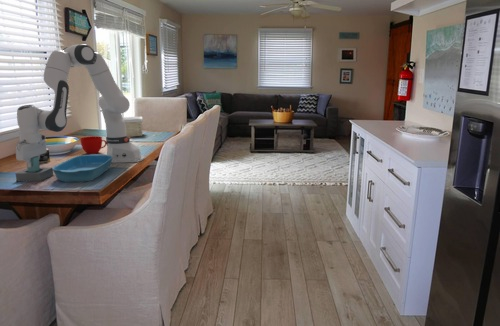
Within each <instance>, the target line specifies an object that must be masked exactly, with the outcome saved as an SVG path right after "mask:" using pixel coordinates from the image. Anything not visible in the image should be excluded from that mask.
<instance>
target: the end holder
mask: <svg viewBox="0 0 500 326" xmlns="http://www.w3.org/2000/svg"><path fill="white" fill-rule="evenodd" d="M52 168H53V167H41V166H40V170H39V171H36V172H28V169H27V168H25V169H23V170H20V171H18V172H16V173H15V178H16V182H42V181H45V180H47V179H48V178H50V177H53V176H54V171H53V169H52Z"/></svg>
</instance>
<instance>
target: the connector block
mask: <svg viewBox="0 0 500 326" xmlns="http://www.w3.org/2000/svg"><path fill="white" fill-rule="evenodd" d="M30 161H31V163H32V164H33V166H32V167H28V166H27V165H26V167H27V168H26V169H28V172H36V171H39V170H40V167H41V166H40V163H39V157H38V156H36V157H33V158H31V160H30Z"/></svg>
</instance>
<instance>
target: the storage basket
mask: <svg viewBox="0 0 500 326" xmlns="http://www.w3.org/2000/svg"><path fill="white" fill-rule="evenodd" d="M122 118H123V120H124V121H125V127H126V136H128V137H130V138H131V137H132V138H133V137H142V136H143V120H144V119H143V115H142V116H122Z"/></svg>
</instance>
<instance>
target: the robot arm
mask: <svg viewBox="0 0 500 326" xmlns="http://www.w3.org/2000/svg"><path fill="white" fill-rule="evenodd" d="M82 66H84V67H85V69H86V70H87V73H88V75H89V76H90V78H91V81H92V83H93V85H94V87H95V89H96V90H97V91H98V92H99V94H100V95H101V96H100V97H99V99H98V105H99V107H100V109H101V112H102V116H103V119H104V123H105V130H106V136H105V139H106V140H105V141H106V143H107V144H106V151H107V152H106V155H109V156H112V162H111V164H117V163H138V162H141V161H144V160H145V159H146V156H145V155H142V153H141V150H140V148H139V147H138V146H136V145H135V144H134V143H132V142H131V141H130V140H131V137H128V136H126V127H125V121H124V120H123V118H122V117H123V115H122V114H125V113H126V112H127V111H128V110H129V109H130V101H129V99H128V98H127V97H126V96H125V94H124V93H123V91H122V90H121V89H120V88H119V85H118V84H117V82H116V81H115V78H114V76H113V74H112V73H111V70H110V68H109V66H108V64H107V61H106V60H105V58H104V57H103V56H102V54H101V53H100V52H97V51H95V50H94V49H93V48H92V46H90V45H88V44H85V43H79V44H73V45H70V46H67V47H64V48H63V49H62V50H59V49H56V50H53V51H52V52H51V53H50V55H49V57H48V59H47V62H46V65H45V68H44V72H43V81H44V83H45V84H46V85H47V87H49V89H50V88H51V89H52V90H53V91H54V99H53V107H52V110H44V109H41V108H39V107H36V106H35V105H34V104H25V105H21V106H19V107H18V108H17V112H16V120H17V126H18V129H19V131H18V136H19V141H18V142H17V144H16V147H15V157H16V159H15V160H17V162H18V161H19V162H25V163H26V167H27V166H28V167H32V166H33V164H32V163H31V161H30V160H31V158H33V157H36V156H38V157H39V158H40V155H41V154H44V153H46V151H47V149H48V148H47V141H46V139H47V138H46V137H47V136H46V135H45V134H42V133H40V130H44V131H45V130H46V131H51V132H53V133H54V132H55V133H58V132H62V131H64V129H65V128H66V126H67V122H68V119H67V109H68V102H69V91H70V89H69V84H68V79H69V74H70V69H72V68H75V67H82Z"/></svg>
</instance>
